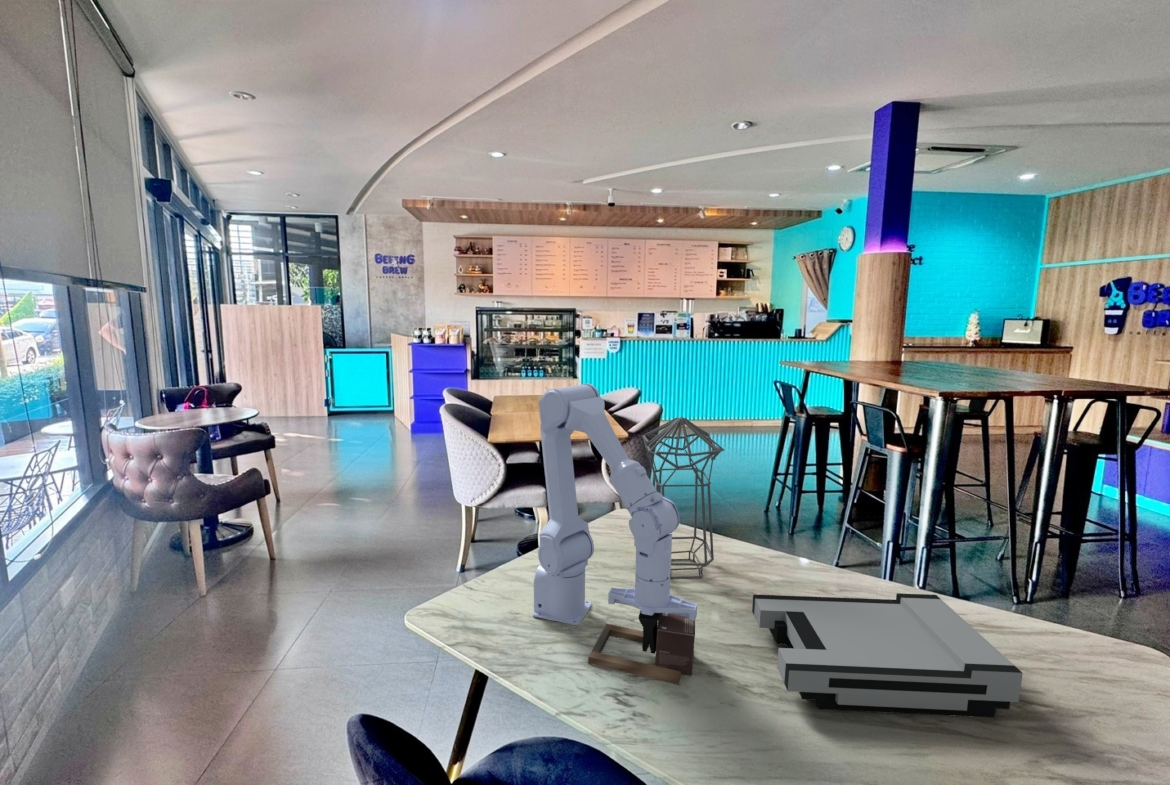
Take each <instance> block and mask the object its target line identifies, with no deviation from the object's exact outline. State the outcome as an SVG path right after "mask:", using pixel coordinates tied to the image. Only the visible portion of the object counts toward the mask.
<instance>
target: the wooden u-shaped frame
mask: <svg viewBox="0 0 1170 785" xmlns="http://www.w3.org/2000/svg"><path fill="white" fill-rule="evenodd" d="M610 637H612V638H613V637H614V638H618V639H623V640H626V641H631V642H637V643H641V644H642V643H643V630H638V629H636V628H635V629H634V628H629V627H624V626H620V625H615V624H609V623H605V625H604V627H603V629H602V631H601V632H600V635H599V636H598V638H597V640H596V642H595V644H594V645H593V647H592V649H591V651H590V653H589V654H588V657H587V663H588V664H589V665H593V666H599V667H602V668H603V667H604V668H607V669H610V670H614V671H619V672H624V673H626V674H627V673H628V674H631V675H636V676H640V677H644V678H647V679H648V678H649V679H653V680H657V681H662V682H664V683H665V682H666V683H670V684H673V685H679V686H680V683H681V679H682V675H681V671H677V670H673V669H668V668H664V667H659V666H655V664H650V663H646V662H642V661H638V660H634V659H633V660H632V659H629V658H624V657H620V656H616V655H611V654H606V653H603V650H604V649H605V647H606V645H607V642H608V641H609V639H610Z"/></svg>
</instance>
